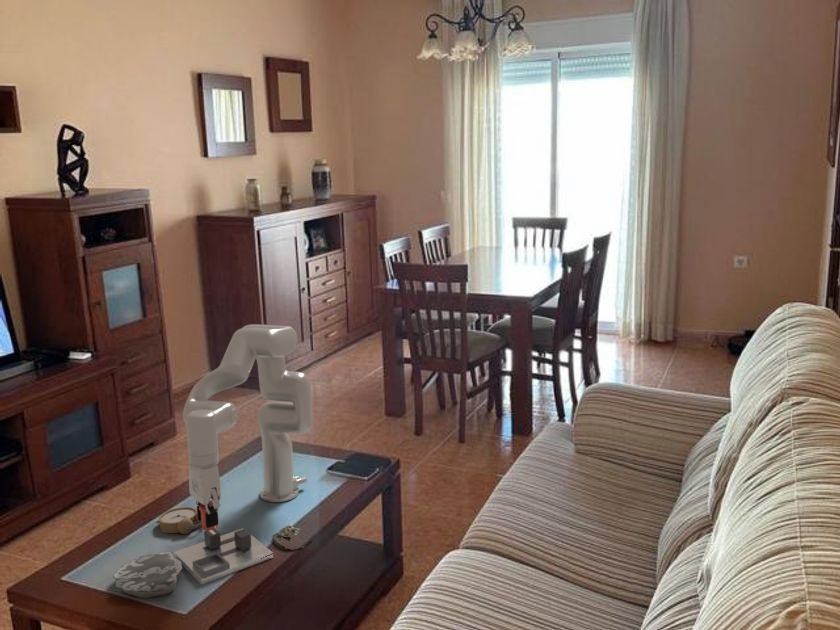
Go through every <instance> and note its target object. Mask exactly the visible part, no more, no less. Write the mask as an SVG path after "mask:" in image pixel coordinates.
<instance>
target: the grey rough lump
mask: <svg viewBox="0 0 840 630" xmlns="http://www.w3.org/2000/svg"><path fill="white" fill-rule="evenodd" d="M300 529H301V528H299V527H298V528H295V527H294V526H292V525H291V524H287V525H286V526H285V527H281V529H280V530H279V532H278V531H277V533H275V534H273V535H272V537H271V539H272V542H273V543H274V545H276V546H277V547H279V548H280V549H283V550H285V547H284V546H282V545H280V544H279V543H281V542H280V541H281V537H283V538H284V539H286V540H288V541H290V539H291V538H290V537H284V536H288V535H297V533H299V530H300ZM277 542H278V543H277ZM290 542H291V541H290ZM312 543H313V540H311V541H309V542H308V543H307V544H305V545H303V546H302V547H301V548H300V549H299V550H302V549H304V548H305V547H308V546H310V544H312ZM285 551H288V550H287V549H286V550H285Z"/></svg>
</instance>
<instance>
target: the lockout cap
mask: <svg viewBox="0 0 840 630" xmlns="http://www.w3.org/2000/svg"><path fill="white" fill-rule="evenodd" d="M212 505H213V503H212V504H209V508H210V507H211V506H212ZM198 506H199V505H198ZM199 510H200V511H201V521H202V526H201V528H202V530H204V531H206V530H213V529H217V528H218V526H219V524H218V525H216V526H213V527H210V528H207V527H206V518H205V513H207V512H206V506H205V505H203V504H201V505H200V506H199Z"/></svg>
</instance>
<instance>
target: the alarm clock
mask: <svg viewBox="0 0 840 630" xmlns="http://www.w3.org/2000/svg"><path fill="white" fill-rule="evenodd" d="M158 518H159V519H158V521H155V523H156V524H159V528H160V529H159V530H161V532H163V533H167V534H174V533H175V534H177V533H178V534H179V533H180V534H181V535H187V534H190V533H191V532H192V530H194V529H199V528H200V527H202V521H201V520H200V521H199V520H198V517H197V508H195V507H191V506H180V507H176V508H175V507H174V508H171V509H169V510H166V511H165V512H163V513H162V514H160V515H159V517H158Z"/></svg>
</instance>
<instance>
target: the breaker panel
mask: <svg viewBox="0 0 840 630" xmlns="http://www.w3.org/2000/svg"><path fill="white" fill-rule="evenodd" d="M242 529H244V528H240V529H236V530H234V531H232V532H228V533H226V534H223V535H220V540H221V546H220V547H217V548H215V549H212V550H211V549H209V548H208V547H207V546H206V545H205V541H202V542H199V543H196V544H193V545H190V546H187V547H184V548H182V549H179V550H176V551H174V552H173V557H174V558H175V559H177V560H179V561H181V565H182V567H184V568H185V569H186V570H187V572H188V573H190V575H191V576H192V577H193V578H194V579H195V580H196V581H197V583H199V584H200V585H201V586H203V585H205V584H207V583H209V582H212V581H215V580H218V579H221V578H223V577H226V576H229V575H230V574H231V575H232V574H234V573H236V572H239V571H241V570H244V569H246V568H249V567H252V566H254V565H257V564H260V563H263V562H265V561H268V560H270V559H274V552H273V551H271V550H270V549H269V548H268V547H267V546H266V545H264V544H263V543H262V542H261V541H259V540H258V539H257V538H256V537H254V536H253V535H252V534H251V548H248V549H245V550H242V551H241V550H240V549H239V548H238V547H237V546H235V536H234V532H236V531H239V530H242ZM272 553H273V554H272ZM270 554H272V555H270ZM267 555H270V556H267ZM265 556H267V557H265ZM263 557H264V558H263ZM261 558H262V559H261Z"/></svg>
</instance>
